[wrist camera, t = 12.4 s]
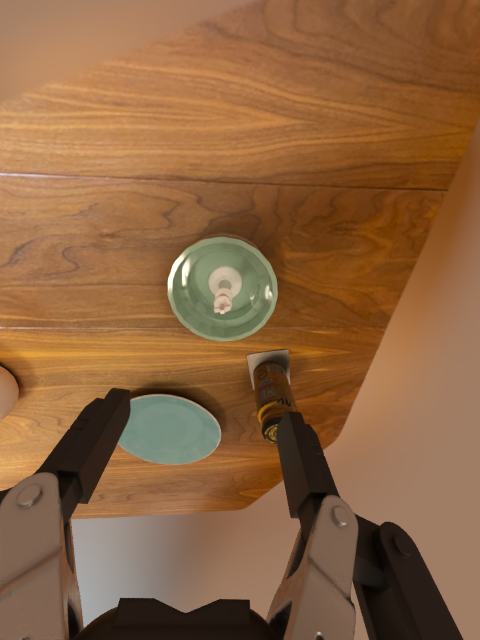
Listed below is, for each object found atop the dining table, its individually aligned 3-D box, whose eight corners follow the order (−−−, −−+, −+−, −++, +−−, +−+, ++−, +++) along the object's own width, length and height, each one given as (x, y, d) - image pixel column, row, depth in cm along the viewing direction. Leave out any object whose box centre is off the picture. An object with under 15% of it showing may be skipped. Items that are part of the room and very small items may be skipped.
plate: (135, 457, 50) (130, 470, 48) (97, 389, 40) (88, 401, 38) (228, 448, 50) (227, 461, 47) (213, 378, 40) (211, 390, 37)
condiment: (252, 388, 41) (259, 451, 30) (246, 354, 37) (251, 412, 26) (290, 383, 41) (310, 445, 30) (287, 348, 37) (309, 404, 26)
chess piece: (245, 294, 31) (249, 328, 22) (212, 300, 32) (204, 336, 23) (239, 261, 29) (241, 284, 20) (204, 268, 29) (191, 293, 20)
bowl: (167, 240, 28) (151, 247, 23) (266, 224, 27) (274, 228, 22) (191, 325, 34) (183, 347, 29) (272, 314, 34) (280, 334, 28)
